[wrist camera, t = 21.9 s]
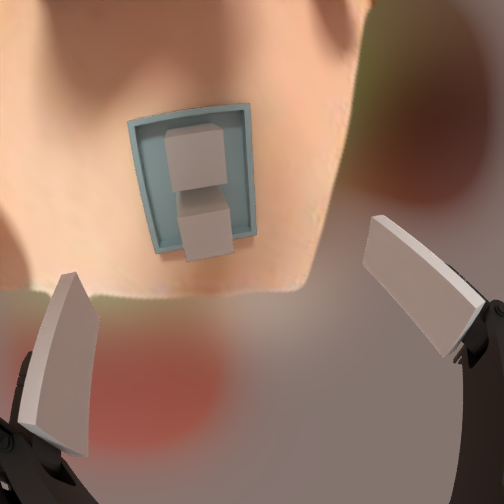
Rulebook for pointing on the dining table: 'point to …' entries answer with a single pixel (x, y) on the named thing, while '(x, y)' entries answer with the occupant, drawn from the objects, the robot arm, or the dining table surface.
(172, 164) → the grey rectangular block
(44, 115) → the dining table surface
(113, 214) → the dining table surface
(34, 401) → the robot arm
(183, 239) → the beige boxy piece
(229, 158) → the tray
